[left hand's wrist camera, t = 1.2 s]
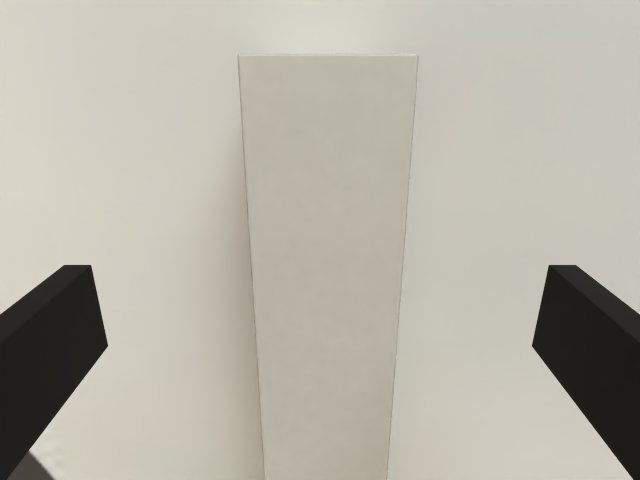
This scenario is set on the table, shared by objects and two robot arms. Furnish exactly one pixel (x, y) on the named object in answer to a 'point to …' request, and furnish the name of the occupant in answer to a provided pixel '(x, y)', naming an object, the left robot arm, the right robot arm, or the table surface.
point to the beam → (326, 253)
